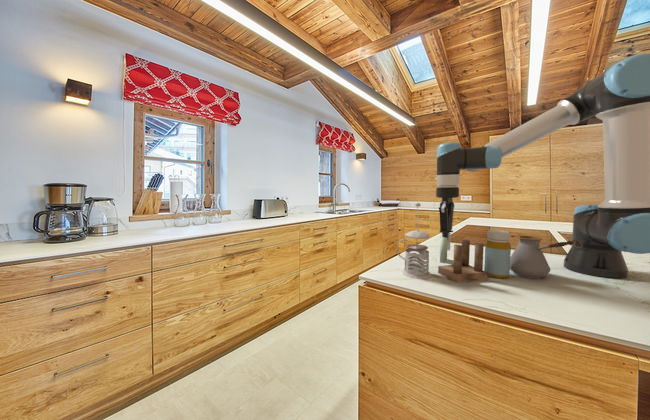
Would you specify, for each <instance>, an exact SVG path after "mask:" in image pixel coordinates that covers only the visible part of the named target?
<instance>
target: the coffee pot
mask: <svg viewBox="0 0 650 420" xmlns="http://www.w3.org/2000/svg"><path fill="white" fill-rule="evenodd" d="M516 238H518V241H519V242H518V243H517V246H516V247H515V249H514V250H513V252H512V253H511V255H510V271H511V272H512V273H513V274H514V275H516V276H519V277H522V278H527V279H528V278H529V279H541V278H543V277H545V276H547V275H549V273H550V271H552V270H551V267H550V265H549V263H548V261H547V258H546V256H545V254H544V252H543V251H542V250H543V249H549V248H550V249H551V248H561V247H565V246H572V244H574V246H575V244H576V243H578V242H579V241H576V240H575V241H572V240H567V241H561V242H557V243H556V242H555V243H551V244H548V245H542V246H541V245H540V243H541V241H542V240H543V238H542V237H539V236H534V235H518V236H517V237H516ZM579 243H581V242H579ZM575 247H576V246H575ZM581 247H582V243H581ZM581 247H577V248H581Z"/></svg>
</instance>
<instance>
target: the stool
mask: <svg viewBox="0 0 650 420" xmlns="http://www.w3.org/2000/svg"><path fill="white" fill-rule="evenodd" d="M470 246H471V240H469V239H462V240H461V244H454V245H453V260H454V263H453V265H451V264H445V265H438V267H437V269H438V271H437V273H438V274H440V275H442V276H444V277H445V278H447V279H448V280H451V281H452V282H454V283H465V282H475V281H481V280H482V281H484V280H487V275H486V272H485V271H484V268H483V267H484V250H485V245H484V243H481V242H480V243H479V242H476V243H474V260H473V261H474V262H473V264H474V265H470V253H471V252H470V249H471V247H470Z"/></svg>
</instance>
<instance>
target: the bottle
mask: <svg viewBox="0 0 650 420" xmlns="http://www.w3.org/2000/svg"><path fill="white" fill-rule="evenodd" d="M486 234H487V235H486V237H487V239H486V243H485V245H484V263H483V267H484V268H483V271H485V272H486V276H488V277H490V278H495V279H507V278H509V277H510V271H511V270H510V257H511V255H512V252H511V251H512V250H511V249H512V246H511V243H510V241H511V240H510V239H511V233H510V231H507V230H506V231H505V230H496V229H491V230H490V229H489V230H487V233H486Z"/></svg>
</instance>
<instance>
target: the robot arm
mask: <svg viewBox="0 0 650 420" xmlns="http://www.w3.org/2000/svg"><path fill="white" fill-rule="evenodd" d="M593 117H596V118H597V119H598V120H601V121H602V132H603V133H602V135H603V136H602V137H603V139H602V140H603V142H602V143H603V170H604V171H603V175H604V176H603V177H604V179H603V181H604V200H603V201H602V202H601V203H599V204H585V205H578V206H575V208H574V213H573V219H572V220H573V221H572V238H571V241H575V240H576V241H579V242H581V243H582V247H581V243H579V242H578V243H576V244H575V246H576V247H575V246H574V244H572V245H571V247H570V248H569V250H568V252H567V254H566V256H565V257H564V259H563V267H564V268H565V269H568V270H570V271H573V272H576V273H580V274H583V275H589V276H595V277H601V278H614V279H621V278H623V279H624V278H627V277H628V276H629V268H628V266H627V263H626V261H625V260H626V259H625V257H624V255H623V252H624V253H631V254H636V255H643V254H644V255H645V254H650V53H640V54H635V55H632V56H629V57H626V58H625V59H623V60H621V61H618V62H616V63H614V64H613V65H611V66H610V67H609V68H608V69H606V70H605V71H604V72H602V73H601V74H599V75H597V76H595V77H594V78H592V79H591V80H590V81H588V82H586V83H585V84H584V85H583V86H581V87H580V88H578V89H577V90H576V91H574V92H572V93H571V94H570V95H569V96H566V97H565V98H563V99H561V100H559V101H558V102H557V105H556V106H555V107H552V108H550V109H549V110H547V111H545V112H543V113H541V114H539V115H537V116H536V117H534V118H532V119H530V120H528V121H526V122H525V123H523V124H521V125H519V126H517V127H516V128H514V129H511V130H510V131H508V132H506V133H504V134H502V135H500V136H499V137H496V138H495V139H493V140H491V141H490V142H488V143H485V144H484V145H482V146H478V147H477V146H475V147H462V145H461V143H460V142H456V141H455V142H444V143H441V144H439V145H438V146H437V151H436V177H435V178H434V180H435V181H436V186H437V187H436V188H435V190H436V191H435V197H436V198H437V199H439V198H441V202H440V203H439V207H438V211H439V233H440V234H441V237H445V238H448V242H447V251H451V236H452V234H451V233H454V230H452V229H453V220H454V209H455V202H454V201H453V199H456V198H459V196H460V187H459V186H460V183H461V182H460V178H461V175H460V173H461V172H460V171H461V170H466V171H468V172H471V173H474V172H477V171H480V170H490V169H491V170H492V169H498V168H499V167H500V166H501V163H502V159H504V158H505V157H507V156H509V155H511V154H513V153H514V152H517V151H519V150H521V149H523V148H525V147H526V146H529V145H531V144H533V143H535V142H536V141H539V140H541V139H543V138H545V137H547V136H548V135H550V134H552V133H555V132H557V131H558V130H561V129H563V128H565V127H567V126H568V125H572V126H574V125H577V124H579V123H581V122H584V121H586V120H587V119H591V118H593ZM577 247H581V248H577Z"/></svg>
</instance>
